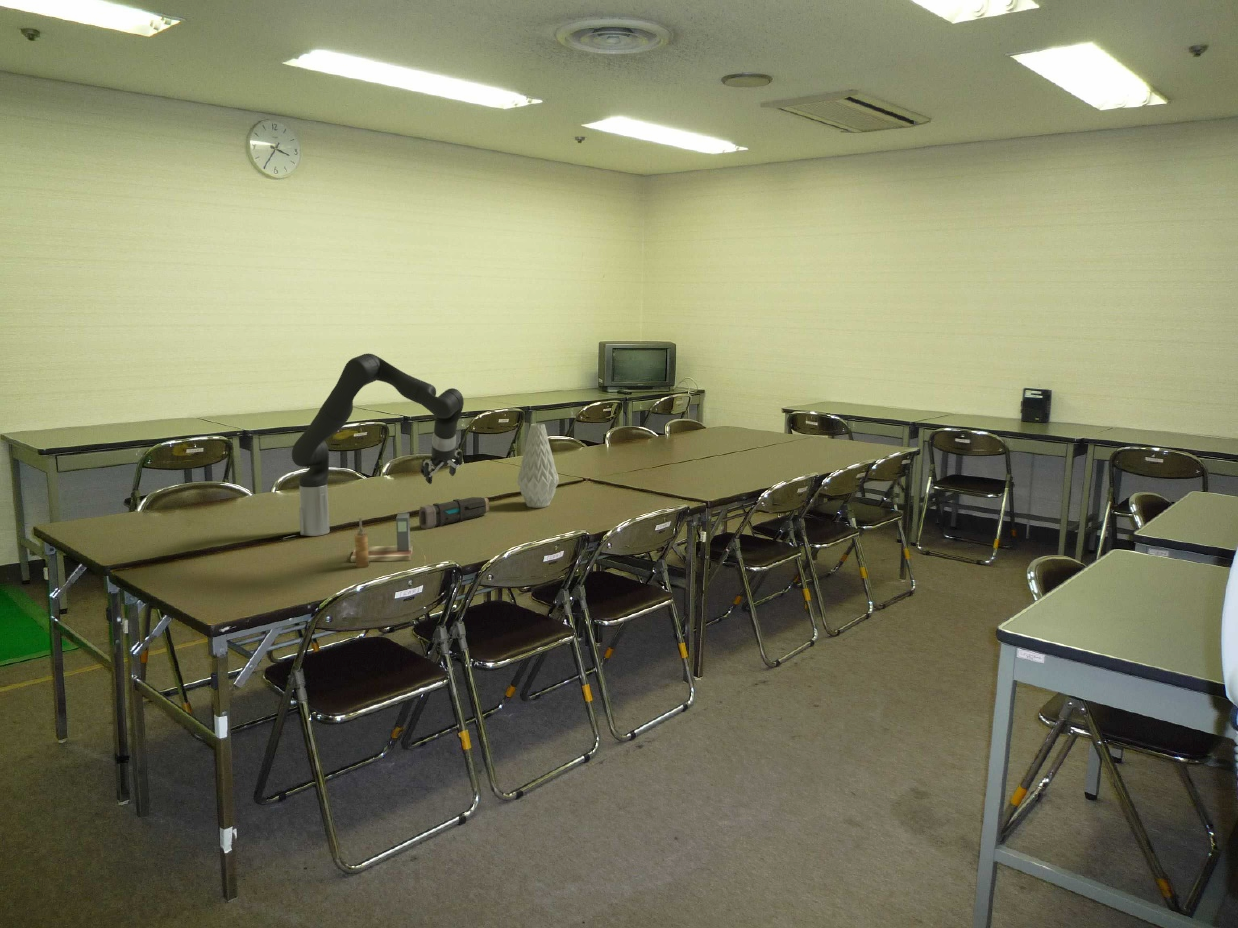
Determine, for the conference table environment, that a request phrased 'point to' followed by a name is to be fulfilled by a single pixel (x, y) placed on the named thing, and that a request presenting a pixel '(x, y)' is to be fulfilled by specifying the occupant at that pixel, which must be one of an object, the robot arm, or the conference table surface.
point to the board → (386, 554)
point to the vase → (537, 469)
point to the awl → (361, 548)
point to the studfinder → (403, 531)
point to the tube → (452, 511)
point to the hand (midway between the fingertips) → (440, 478)
